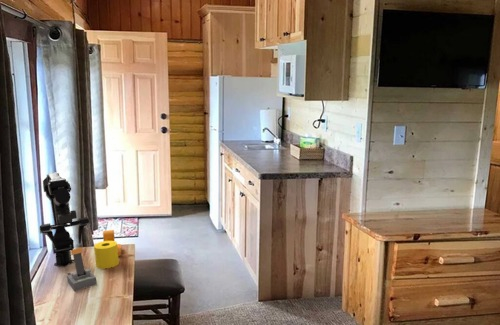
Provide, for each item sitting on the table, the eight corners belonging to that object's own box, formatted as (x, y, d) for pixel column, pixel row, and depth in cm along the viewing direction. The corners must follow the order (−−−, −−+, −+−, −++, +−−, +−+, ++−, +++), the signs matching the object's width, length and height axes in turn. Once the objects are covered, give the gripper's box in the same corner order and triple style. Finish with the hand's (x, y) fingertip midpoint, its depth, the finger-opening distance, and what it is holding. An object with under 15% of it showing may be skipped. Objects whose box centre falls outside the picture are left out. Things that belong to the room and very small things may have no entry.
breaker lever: (76, 277, 187) (70, 250, 188) (85, 274, 189) (80, 247, 190) (77, 277, 185) (71, 250, 187) (86, 274, 188) (81, 247, 189)
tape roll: (117, 267, 203) (115, 247, 201) (94, 269, 202) (92, 249, 200) (120, 258, 213) (118, 239, 211) (98, 260, 211) (96, 241, 210)
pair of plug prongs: (67, 276, 196) (67, 273, 196) (80, 272, 199) (80, 269, 199) (72, 281, 190) (72, 279, 190) (85, 278, 193) (85, 275, 193)
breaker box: (67, 282, 190) (66, 271, 189) (89, 276, 195) (88, 265, 194) (74, 291, 182) (72, 279, 181) (96, 284, 187) (95, 272, 186)
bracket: (120, 257, 215) (118, 233, 213) (105, 259, 213) (102, 235, 211) (121, 249, 225) (119, 226, 223) (106, 251, 223) (103, 227, 221)
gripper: (37, 208, 176) (43, 248, 173) (87, 201, 185) (94, 238, 182) (37, 213, 186) (42, 251, 183) (84, 206, 194) (90, 242, 191)
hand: (68, 245), depth 184 cm, fingers open, 9 cm apart
